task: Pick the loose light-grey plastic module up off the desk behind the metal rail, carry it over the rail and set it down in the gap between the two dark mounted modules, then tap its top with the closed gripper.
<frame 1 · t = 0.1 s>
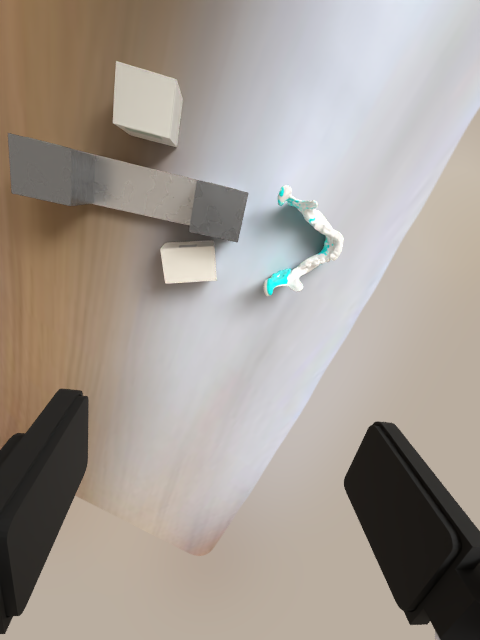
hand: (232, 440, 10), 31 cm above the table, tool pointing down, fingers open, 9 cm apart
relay: (191, 257, 38), on the table
jawbone: (297, 239, 39), on the table
module: (156, 117, 32), on the table
rail: (148, 192, 35), on the table
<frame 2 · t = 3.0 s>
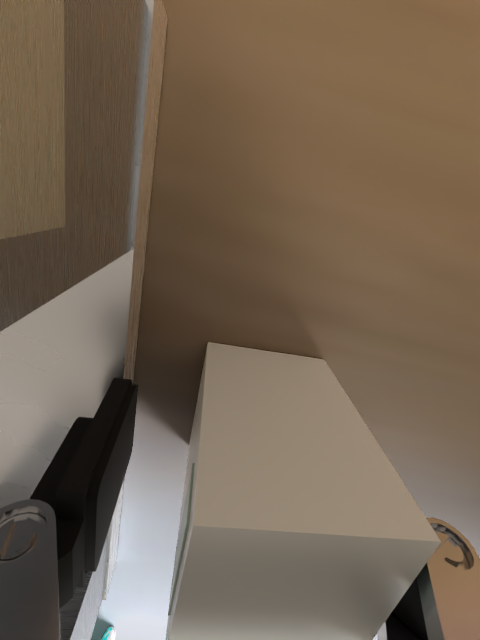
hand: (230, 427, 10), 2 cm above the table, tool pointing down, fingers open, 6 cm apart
jawbone: (43, 637, 18), on the table
module: (253, 404, 12), on the table, touching gripper
rail: (63, 378, 11), on the table
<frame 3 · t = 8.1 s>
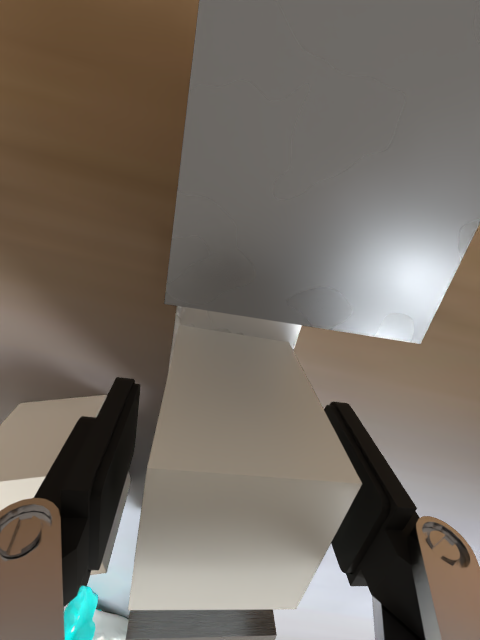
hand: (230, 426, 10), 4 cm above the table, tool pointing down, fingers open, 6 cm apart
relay: (81, 443, 15), on the table
jawbone: (155, 592, 22), on the table
module: (223, 384, 13), point 1 cm above the table, touching rail
rail: (224, 363, 14), on the table
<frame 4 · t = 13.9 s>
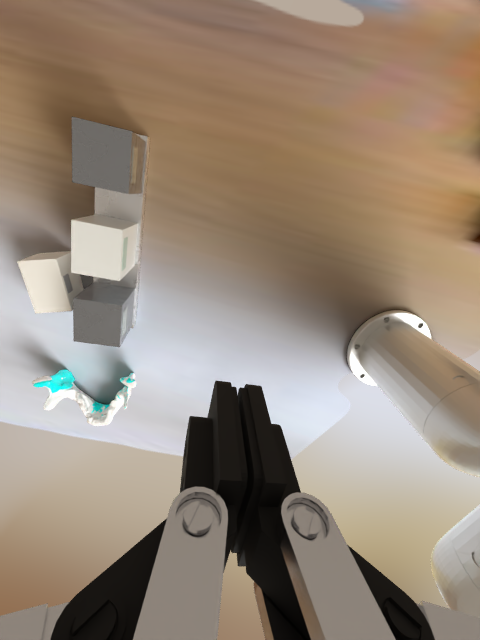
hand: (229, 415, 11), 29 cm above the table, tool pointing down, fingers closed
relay: (63, 276, 37), on the table
jawbone: (104, 382, 44), on the table
module: (116, 241, 34), point 1 cm above the table, touching rail
rail: (120, 237, 36), on the table
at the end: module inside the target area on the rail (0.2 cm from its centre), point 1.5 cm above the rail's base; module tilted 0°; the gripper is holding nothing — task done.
